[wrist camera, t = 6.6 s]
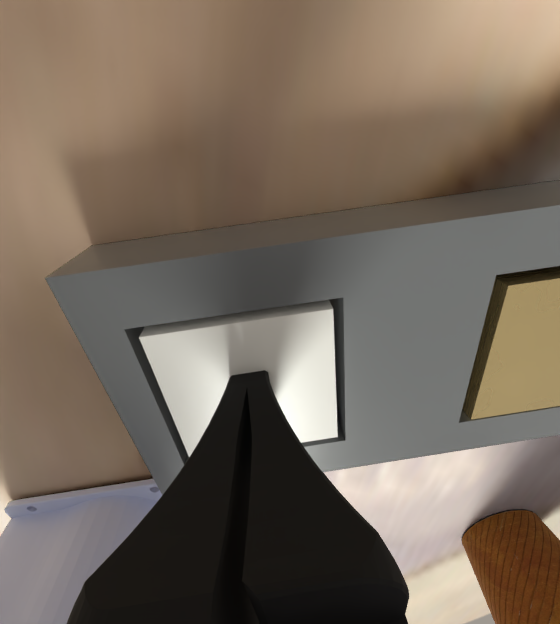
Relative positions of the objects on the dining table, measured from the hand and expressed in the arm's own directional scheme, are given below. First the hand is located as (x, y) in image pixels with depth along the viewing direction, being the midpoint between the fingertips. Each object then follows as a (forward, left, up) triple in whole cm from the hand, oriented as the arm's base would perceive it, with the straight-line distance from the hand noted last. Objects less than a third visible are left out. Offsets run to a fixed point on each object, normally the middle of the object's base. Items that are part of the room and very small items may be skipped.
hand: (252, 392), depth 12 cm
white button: (0, 0, -3) cm, 3 cm away
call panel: (+6, 0, -3) cm, 7 cm away
